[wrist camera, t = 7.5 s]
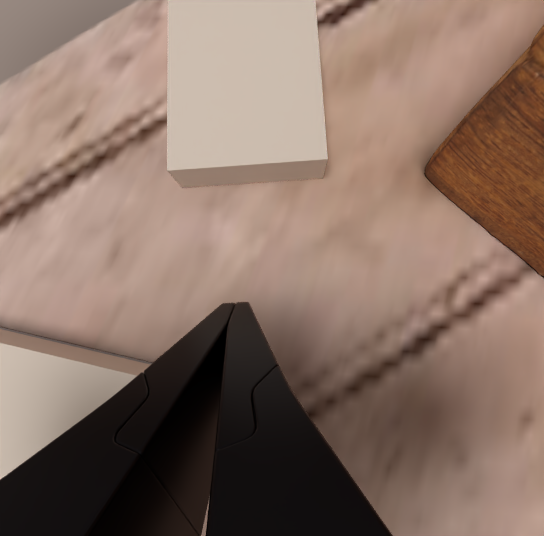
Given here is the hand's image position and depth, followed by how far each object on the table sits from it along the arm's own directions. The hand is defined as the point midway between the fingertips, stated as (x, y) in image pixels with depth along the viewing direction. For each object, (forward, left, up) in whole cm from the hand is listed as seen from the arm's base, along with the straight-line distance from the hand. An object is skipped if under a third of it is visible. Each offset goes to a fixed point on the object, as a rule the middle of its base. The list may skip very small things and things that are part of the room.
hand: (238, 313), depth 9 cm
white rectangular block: (+4, -6, -6) cm, 9 cm away
